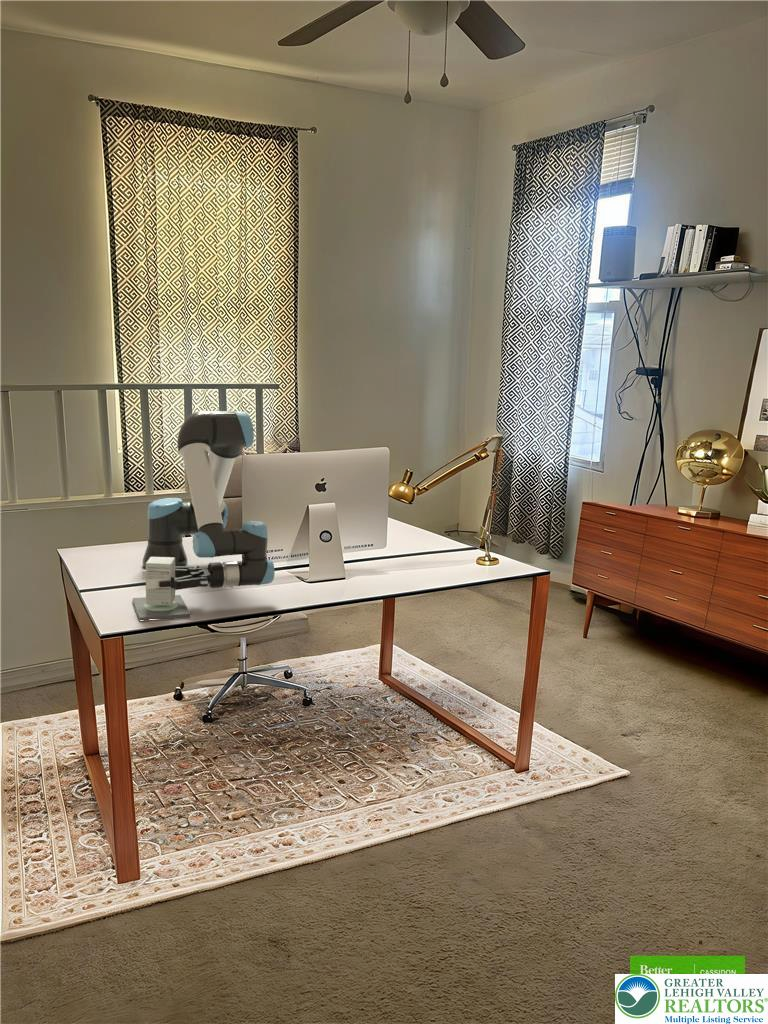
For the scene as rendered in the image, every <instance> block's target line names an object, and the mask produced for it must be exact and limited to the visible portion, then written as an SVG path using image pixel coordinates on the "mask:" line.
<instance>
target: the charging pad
mask: <svg viewBox="0 0 768 1024" xmlns="http://www.w3.org/2000/svg"><path fill="white" fill-rule="evenodd" d="M132 604H133V608H134V610H135V609H136V610H135V612H137V613H136V614H137V615H136V616H137V618H138V617H139V618H138V621H139V620H149V619H167V620H179V619H188V618H189V619H190V618H191V612H190V609H188V608H189V607H187V605H186V603H185V601H184V599H183V597H182V595H181V594H175V599H174V601H173V603H172V605H147V604H146V596H143V597H132ZM175 618H176V619H175ZM177 618H178V619H177Z"/></svg>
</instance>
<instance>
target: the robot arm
mask: <svg viewBox="0 0 768 1024" xmlns="http://www.w3.org/2000/svg"><path fill="white" fill-rule="evenodd" d="M252 421H253V420H252V419H251V416H250V415H249V414H248V412H245V411H239V410H199V411H196V412H194V413H192V414H190V415H189V416H188V417H187V418H186V419H185V420H184V422H182V424H181V426H180V429H179V431H178V434H177V440H176V441H177V444H176V445H177V449H178V450H177V451H178V455H179V457H180V458H182V459H183V464H184V468H185V473H186V477H187V478H186V479H187V483H188V487H189V488H188V489H189V493H190V497H191V500H190V501H183V499H182V498H180V497H164V498H160V499H156V500H153V501H152V502H150V503H149V504H148V506H147V516H146V519H147V545H146V549H145V551H144V555H143V557H142V567H143V566H144V567H145V568H144V567H143V568H144V569H142V570H141V571H142V573H141V574H142V575H141V578H142V580H143V581H144V580H145V586H146V585H147V589H157V588H170V587H171V588H174V590H175V591H178V590H186V589H192V588H202V587H205V588H206V587H209V588H211V589H214V588H215V589H216V588H218V589H219V588H223V587H225V588H228V587H229V588H230V589H233V588H234V587H240V586H243V587H244V586H245V587H246V586H261V585H268V584H271V583H273V582H274V579H275V565H274V562H273V560H272V559H268V557H267V553H268V526H267V524H266V523H265V522H263V521H259V520H248V521H245V522H243V523H242V526H241V529H230V530H229V529H228V530H225V528H226V526H227V523H228V517H229V511H228V506H227V504H226V503H225V501H224V496H225V494H226V493H225V492H226V490H227V486H228V483H229V479H230V477H231V474H232V470H233V467H234V464H235V461H236V459H237V458H239V457H240V456H241V455H242V454H243V452H244V448H246V449H248V448H251V447H252V446H253V445H254V438H255V432H254V425H253V422H252ZM191 535H192V550H193V553H194V555H195V556H196V557H198V558H207V559H208V558H209V559H210V558H211V559H212V558H217V557H226V556H237V555H238V556H239V555H241V560H236V561H235V560H234V561H223V563H222V562H218V561H217V562H216V561H215V562H209V563H208V565H207V568H202V567H201V566H200V565H195V566H194V565H193V566H192V565H191V566H188V556H187V554H186V551H185V548H184V545H183V537H184V536H191ZM150 557H174V558H175V578H174V577H171V581H170V578H159V579H146V562H147V561H148V560H149V558H150ZM186 565H187V566H186Z"/></svg>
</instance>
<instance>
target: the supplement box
mask: <svg viewBox="0 0 768 1024" xmlns="http://www.w3.org/2000/svg"><path fill="white" fill-rule="evenodd" d="M145 570H146V579H159V578H170V581H171V577H174V578H175V558H174V557H150V558H149V560H148V561H147V562H146V568H145ZM146 579H145V580H146ZM175 595H176V590H174V588H171V587H170V588H157V589H147V585H146V584H145V597H146V604H147V605H172V603H173V601H174V599H175Z"/></svg>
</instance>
